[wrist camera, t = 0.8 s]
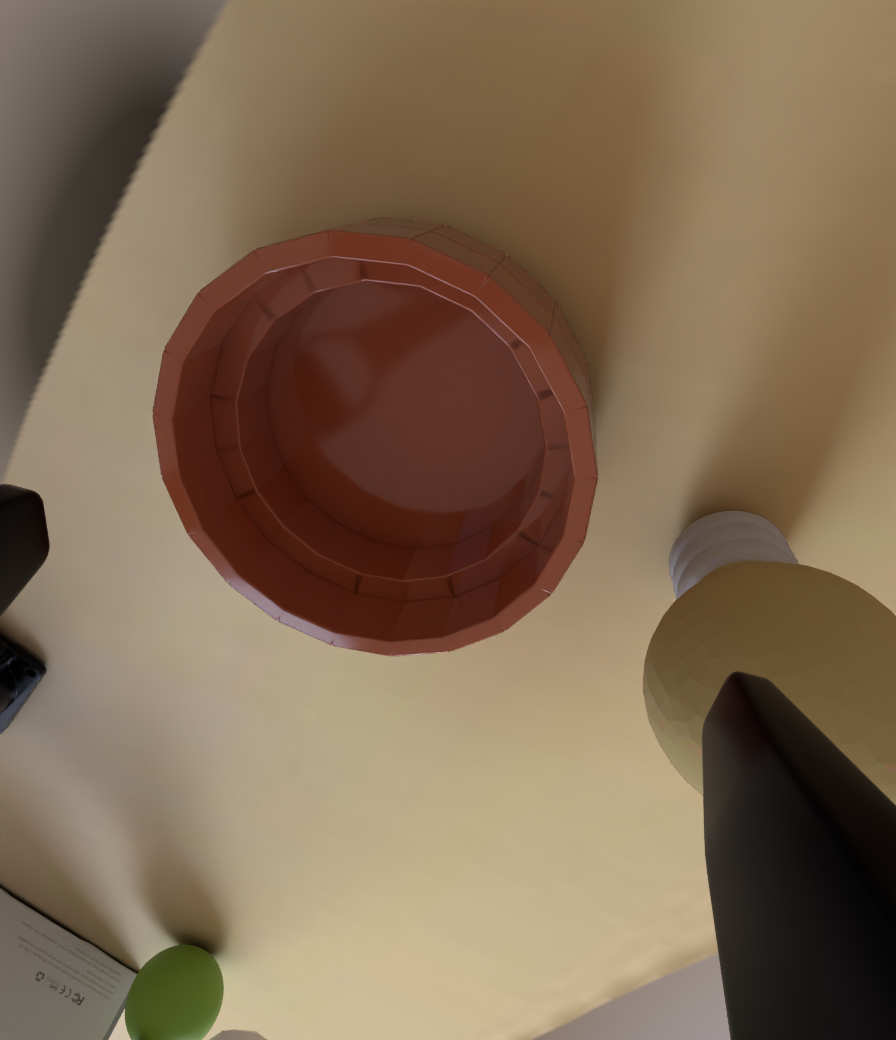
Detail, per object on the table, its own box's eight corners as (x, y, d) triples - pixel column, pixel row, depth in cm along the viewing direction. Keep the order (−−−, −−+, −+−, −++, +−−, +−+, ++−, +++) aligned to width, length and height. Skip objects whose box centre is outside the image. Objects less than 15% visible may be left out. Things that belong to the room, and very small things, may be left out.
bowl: (430, 624, 26) (399, 715, 22) (176, 420, 24) (86, 476, 19) (674, 412, 20) (700, 477, 16) (374, 118, 18) (309, 103, 14)
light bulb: (590, 530, 23) (597, 750, 14) (766, 426, 20) (908, 620, 11) (689, 653, 24) (749, 919, 16) (863, 573, 22) (1051, 840, 13)
